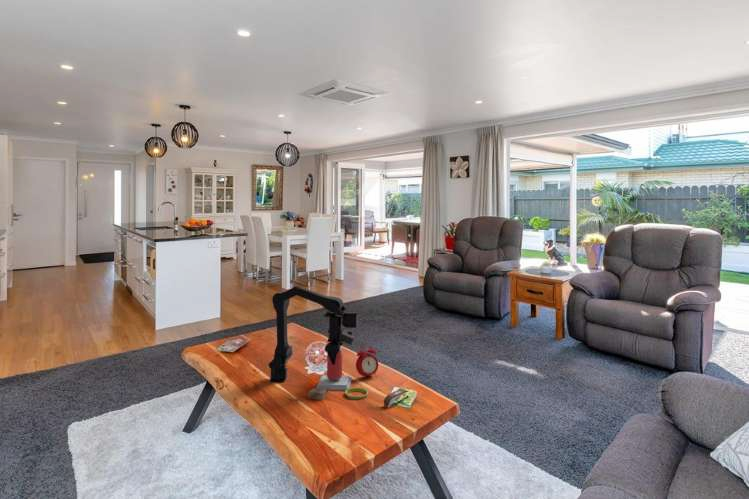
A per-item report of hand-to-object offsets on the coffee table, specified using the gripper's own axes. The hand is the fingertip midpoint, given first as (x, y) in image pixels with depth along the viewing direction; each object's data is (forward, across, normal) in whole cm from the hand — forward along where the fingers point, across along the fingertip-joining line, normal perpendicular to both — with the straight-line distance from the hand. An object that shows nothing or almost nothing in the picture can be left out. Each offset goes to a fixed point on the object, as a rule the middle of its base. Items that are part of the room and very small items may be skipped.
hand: (334, 362), depth 182 cm
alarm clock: (+10, +10, -14) cm, 20 cm away
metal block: (+10, -15, +5) cm, 19 cm away
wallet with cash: (+16, -13, -27) cm, 34 cm away
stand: (+10, 0, 0) cm, 10 cm away
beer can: (+7, 0, 0) cm, 7 cm away
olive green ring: (+17, -11, -11) cm, 23 cm away
